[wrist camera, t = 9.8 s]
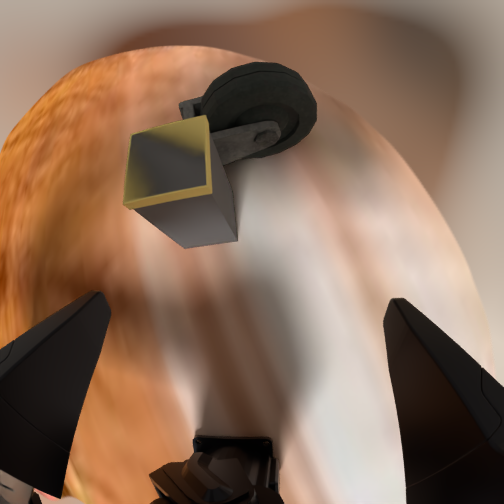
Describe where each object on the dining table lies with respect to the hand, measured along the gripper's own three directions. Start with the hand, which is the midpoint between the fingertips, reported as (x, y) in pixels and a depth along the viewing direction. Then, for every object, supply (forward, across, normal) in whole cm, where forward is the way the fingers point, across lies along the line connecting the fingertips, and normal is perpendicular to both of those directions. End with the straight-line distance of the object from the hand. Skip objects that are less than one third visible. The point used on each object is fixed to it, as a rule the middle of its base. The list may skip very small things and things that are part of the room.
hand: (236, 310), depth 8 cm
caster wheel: (+20, +3, 0) cm, 20 cm away
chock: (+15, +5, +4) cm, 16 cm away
